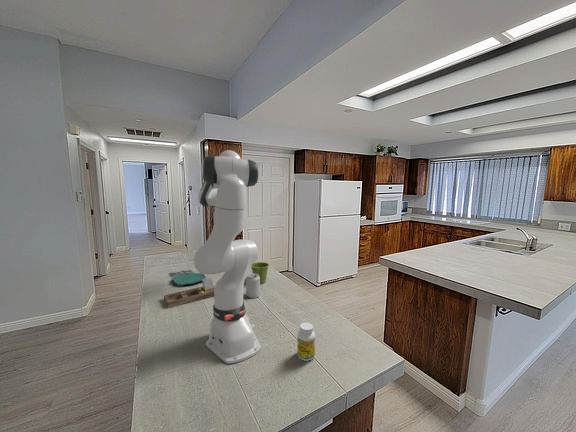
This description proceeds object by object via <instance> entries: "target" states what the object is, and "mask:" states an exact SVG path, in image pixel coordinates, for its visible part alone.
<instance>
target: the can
mask: <svg viewBox="0 0 576 432" xmlns="http://www.w3.org/2000/svg"><path fill="white" fill-rule="evenodd" d="M245 280H246V281H245V287H246V289H245V290H246V291H245V294H246V296H247V297H248V298H249V299H256V298H258V297H259V296H260V294H261V283H260V277H259V275H258V274H256V273H253V272H252V273H251V272H250V273H249V274H248V273H247V275H246V278H245Z"/></svg>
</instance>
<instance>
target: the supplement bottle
mask: <svg viewBox="0 0 576 432" xmlns="http://www.w3.org/2000/svg"><path fill="white" fill-rule="evenodd" d="M296 340H297V345H296V348H297V349H296V350H297V353H296V354H297V357H298V359H300V360H302V361H303V360H304V361H305V362H309V360H310V361H312V360H313V359H314V358H315V356H316V333H315V331H314V325H313V324H312V323H310V322H302V323H301V324H299V331H298V332H297V339H296Z"/></svg>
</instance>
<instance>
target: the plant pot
mask: <svg viewBox="0 0 576 432" xmlns="http://www.w3.org/2000/svg"><path fill="white" fill-rule="evenodd" d="M269 267H270V263H268V262H263V261H259V262H254V263H253V264H252V265H251V267H250V269H251V272H252V273H256V274H258V275H259V277H260V284H266V282H267V274H268V270H269Z"/></svg>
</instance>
